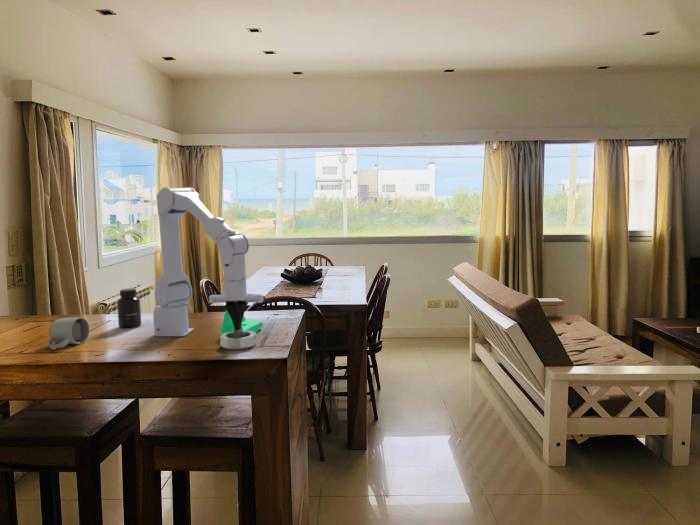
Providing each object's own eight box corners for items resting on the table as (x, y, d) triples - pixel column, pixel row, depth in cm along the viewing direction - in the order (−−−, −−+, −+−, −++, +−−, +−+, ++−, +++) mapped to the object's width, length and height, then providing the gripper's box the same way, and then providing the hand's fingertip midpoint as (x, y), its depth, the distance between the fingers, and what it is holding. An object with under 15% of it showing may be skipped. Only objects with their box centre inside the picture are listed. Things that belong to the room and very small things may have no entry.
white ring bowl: (217, 350, 147) (216, 339, 146) (227, 340, 156) (227, 330, 155) (250, 350, 146) (249, 339, 145) (258, 340, 155) (258, 330, 154)
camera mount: (244, 339, 157) (243, 304, 156) (221, 338, 160) (219, 303, 158) (264, 329, 169) (262, 296, 167) (242, 328, 171) (240, 295, 170)
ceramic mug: (66, 339, 162) (64, 313, 161) (91, 340, 161) (88, 314, 159) (40, 350, 152) (36, 323, 151) (65, 351, 150) (62, 323, 149)
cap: (226, 346, 148) (225, 331, 148) (232, 341, 153) (231, 326, 153) (245, 346, 148) (244, 331, 147) (250, 341, 153) (249, 326, 152)
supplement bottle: (131, 329, 172) (128, 292, 170) (114, 328, 174) (111, 291, 172) (146, 324, 178) (143, 288, 177) (129, 323, 180) (126, 287, 179)
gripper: (204, 282, 145) (207, 332, 147) (257, 281, 144) (260, 332, 145) (212, 277, 152) (215, 325, 154) (264, 277, 151) (266, 325, 152)
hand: (237, 328), depth 150 cm, fingers closed
